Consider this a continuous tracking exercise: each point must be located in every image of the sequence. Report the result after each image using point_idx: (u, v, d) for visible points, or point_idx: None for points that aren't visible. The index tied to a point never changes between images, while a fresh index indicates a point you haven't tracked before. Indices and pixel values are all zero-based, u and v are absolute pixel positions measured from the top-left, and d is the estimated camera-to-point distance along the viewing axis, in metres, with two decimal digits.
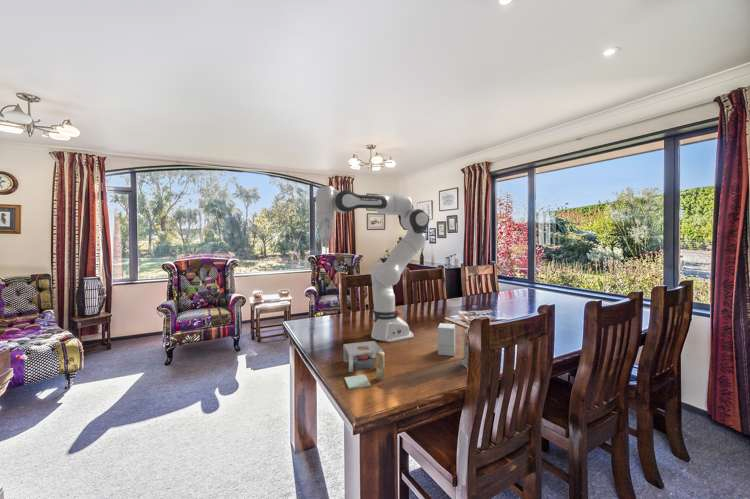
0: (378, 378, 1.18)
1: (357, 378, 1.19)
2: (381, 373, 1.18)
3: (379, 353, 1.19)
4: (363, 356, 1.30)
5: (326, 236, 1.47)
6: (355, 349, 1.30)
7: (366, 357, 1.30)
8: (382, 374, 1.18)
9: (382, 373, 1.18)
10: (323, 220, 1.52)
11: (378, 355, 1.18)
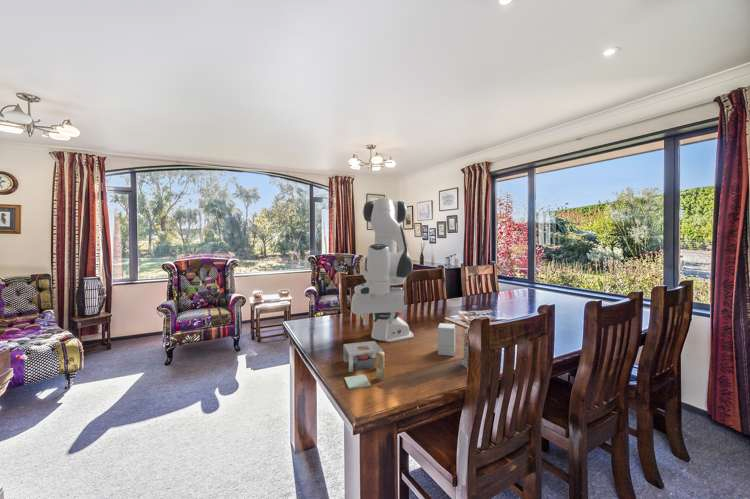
0: (378, 378, 1.18)
1: (357, 378, 1.19)
2: (381, 373, 1.18)
3: (379, 353, 1.18)
4: (363, 356, 1.30)
5: None
6: (355, 349, 1.30)
7: (366, 357, 1.30)
8: (382, 374, 1.18)
9: (382, 373, 1.18)
10: (389, 290, 1.18)
11: (378, 355, 1.18)
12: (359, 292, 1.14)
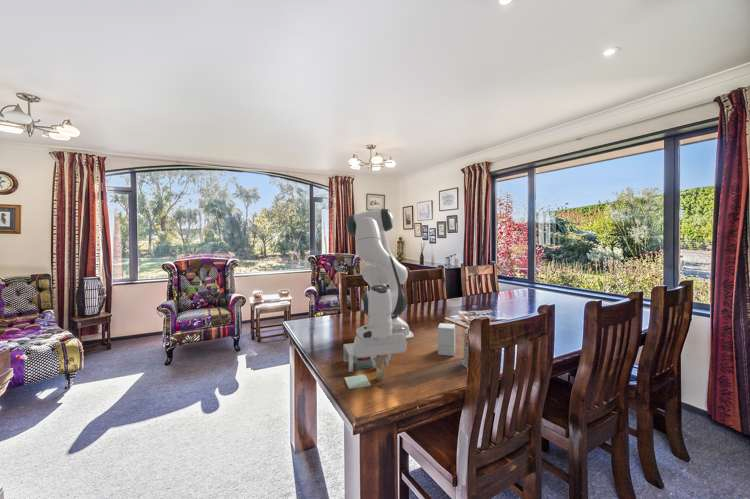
0: (378, 378, 1.18)
1: (357, 378, 1.19)
2: (381, 373, 1.18)
3: None
4: None
5: None
6: None
7: (366, 357, 1.30)
8: (382, 374, 1.18)
9: (382, 373, 1.18)
10: (392, 331, 1.18)
11: (378, 355, 1.18)
12: (362, 336, 1.13)
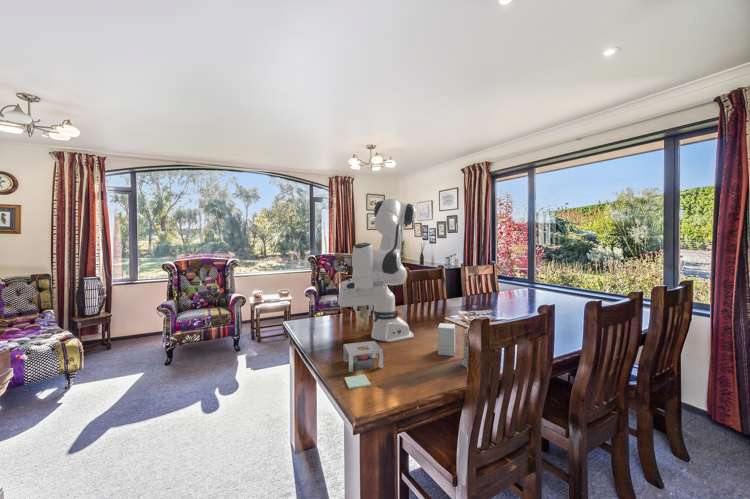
0: (361, 327, 1.30)
1: (357, 378, 1.19)
2: (363, 322, 1.30)
3: None
4: (363, 356, 1.30)
5: None
6: (355, 349, 1.30)
7: (366, 357, 1.30)
8: (364, 323, 1.30)
9: (364, 322, 1.30)
10: (373, 284, 1.30)
11: (361, 306, 1.29)
12: (345, 287, 1.25)
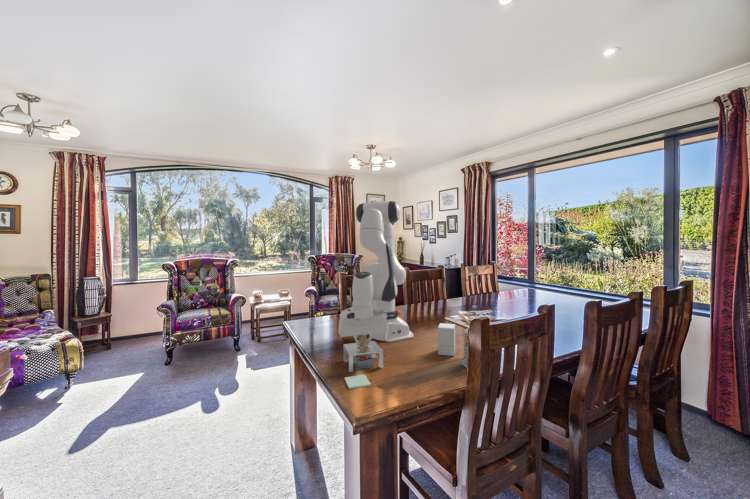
0: (361, 356, 1.30)
1: (357, 378, 1.19)
2: None
3: None
4: None
5: None
6: (355, 349, 1.30)
7: None
8: None
9: None
10: (373, 313, 1.31)
11: (361, 335, 1.30)
12: (345, 317, 1.26)
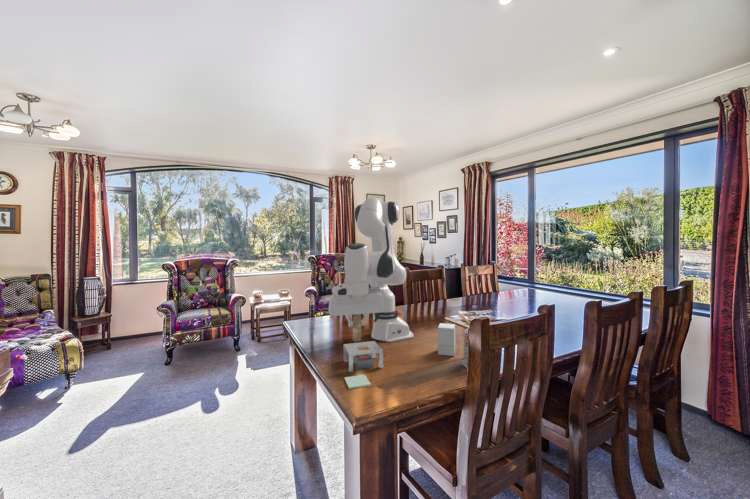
0: (354, 338, 1.15)
1: (357, 378, 1.19)
2: (357, 333, 1.14)
3: None
4: None
5: None
6: (355, 349, 1.30)
7: None
8: (358, 334, 1.15)
9: (358, 333, 1.15)
10: (368, 290, 1.15)
11: None
12: (336, 293, 1.10)
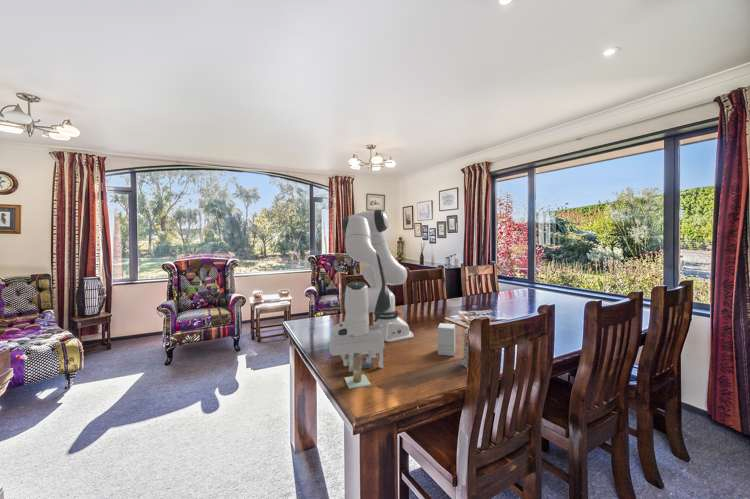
0: (355, 380, 1.16)
1: None
2: (358, 374, 1.15)
3: (356, 354, 1.16)
4: None
5: None
6: None
7: None
8: (359, 376, 1.16)
9: (359, 375, 1.15)
10: (368, 329, 1.16)
11: (355, 356, 1.15)
12: (337, 334, 1.11)
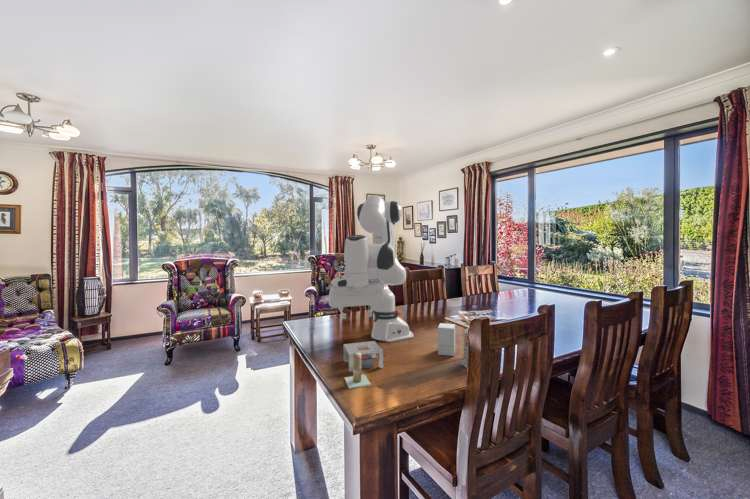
0: (354, 380, 1.16)
1: None
2: (357, 375, 1.15)
3: (356, 354, 1.16)
4: None
5: None
6: (355, 349, 1.30)
7: None
8: (359, 376, 1.15)
9: (359, 375, 1.15)
10: (368, 282, 1.15)
11: (354, 356, 1.15)
12: (336, 285, 1.10)
